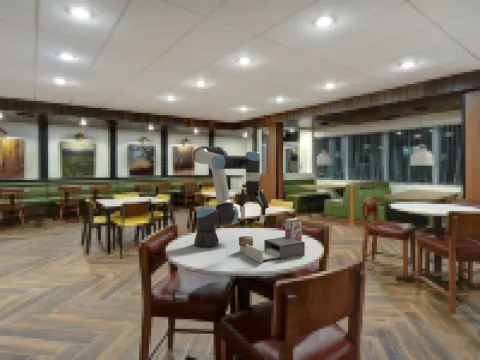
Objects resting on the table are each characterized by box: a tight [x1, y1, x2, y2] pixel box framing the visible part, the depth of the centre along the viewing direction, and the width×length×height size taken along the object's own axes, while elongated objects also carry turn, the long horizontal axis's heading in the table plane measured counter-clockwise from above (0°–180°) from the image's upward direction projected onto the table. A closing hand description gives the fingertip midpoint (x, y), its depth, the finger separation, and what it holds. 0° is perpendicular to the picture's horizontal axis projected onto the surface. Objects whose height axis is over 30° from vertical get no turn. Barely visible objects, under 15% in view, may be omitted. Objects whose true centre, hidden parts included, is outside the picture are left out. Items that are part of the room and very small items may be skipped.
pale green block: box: [239, 245, 246, 254], centre depth 164 cm, size 5×5×4 cm
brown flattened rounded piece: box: [238, 235, 254, 247], centre depth 164 cm, size 8×8×4 cm
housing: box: [263, 236, 306, 261], centre depth 160 cm, size 16×15×7 cm
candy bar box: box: [284, 217, 303, 241], centre depth 176 cm, size 11×5×16 cm, turn 135°
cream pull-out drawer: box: [245, 244, 280, 264], centre depth 154 cm, size 16×15×6 cm
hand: (252, 219), depth 158 cm, fingers open, 13 cm apart
